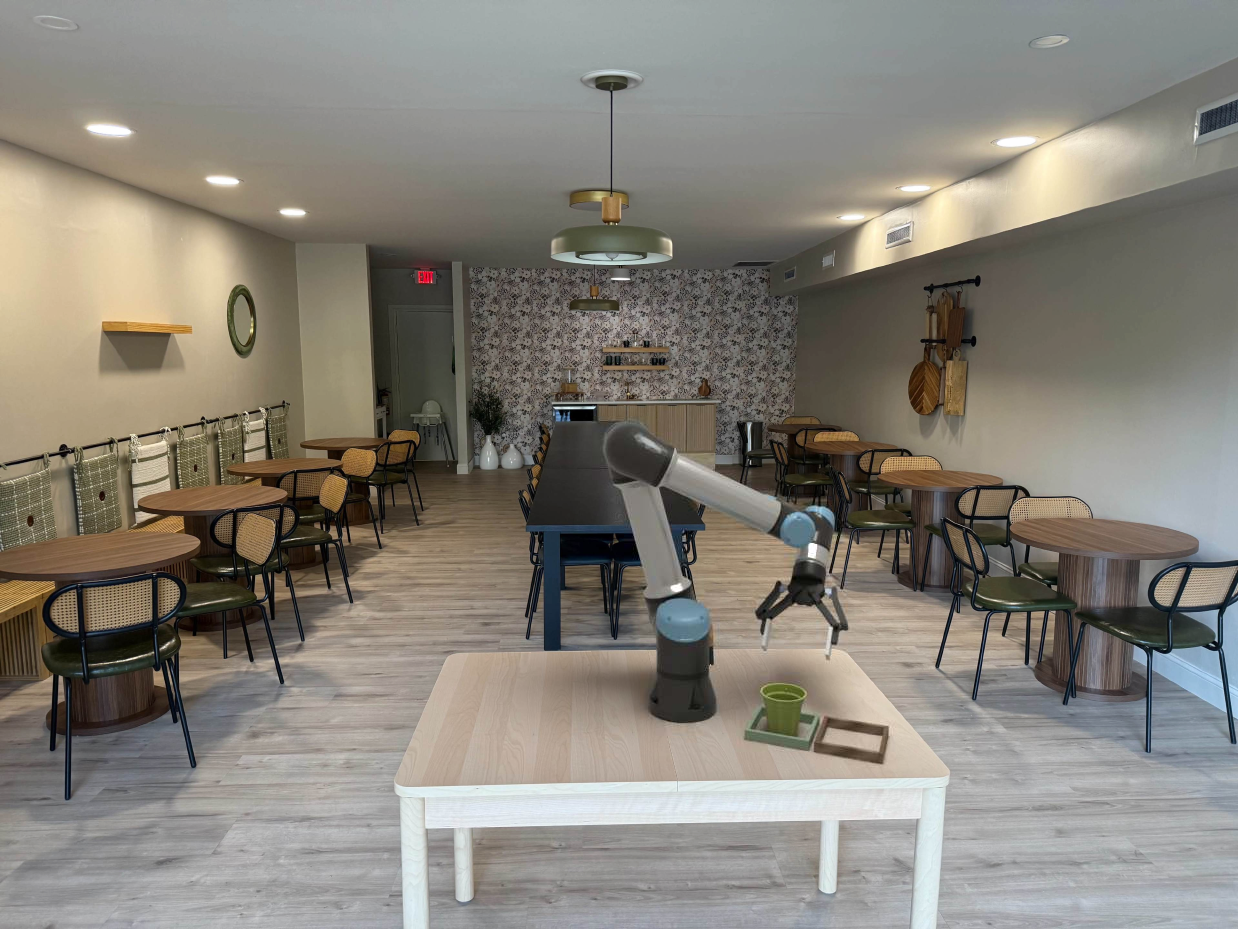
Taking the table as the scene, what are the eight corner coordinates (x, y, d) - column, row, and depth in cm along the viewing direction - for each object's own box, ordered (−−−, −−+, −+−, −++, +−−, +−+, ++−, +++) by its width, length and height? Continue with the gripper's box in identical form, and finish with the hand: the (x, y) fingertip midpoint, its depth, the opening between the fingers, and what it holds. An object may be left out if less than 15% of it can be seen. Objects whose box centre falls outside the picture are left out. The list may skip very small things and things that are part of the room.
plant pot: (750, 729, 169) (751, 689, 168) (781, 717, 175) (781, 679, 174) (784, 746, 162) (784, 705, 161) (815, 733, 167) (816, 693, 166)
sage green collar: (744, 739, 165) (744, 730, 165) (759, 713, 177) (759, 705, 177) (808, 750, 160) (808, 741, 160) (819, 723, 172) (819, 714, 171)
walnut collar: (813, 751, 159) (814, 742, 159) (824, 724, 171) (824, 715, 171) (882, 764, 154) (882, 754, 154) (888, 735, 166) (888, 726, 166)
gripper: (867, 582, 183) (856, 668, 171) (759, 570, 193) (741, 652, 181) (865, 564, 177) (853, 653, 166) (754, 554, 188) (735, 637, 176)
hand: (795, 652), depth 174 cm, fingers open, 13 cm apart
